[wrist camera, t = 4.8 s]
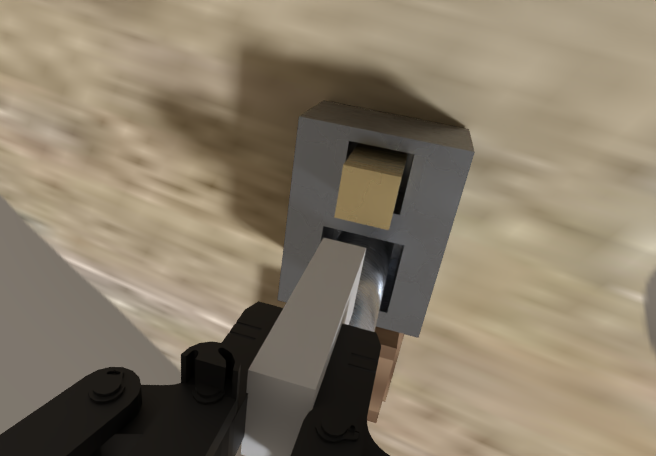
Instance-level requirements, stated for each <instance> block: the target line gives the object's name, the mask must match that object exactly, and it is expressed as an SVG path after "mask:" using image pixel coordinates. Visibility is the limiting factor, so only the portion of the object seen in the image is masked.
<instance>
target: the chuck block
mask: <svg viewBox="0 0 656 456" xmlns="http://www.w3.org/2000/svg"><path fill="white" fill-rule="evenodd" d="M358 143H362V144H367V145H372V146H377V147H382V148H387V149H391V150H396V151H401V152H406V153H408V156H407V160H406V164H405V168H404V173H403V177H402V181H401V186H400V190H399V193H398V197H397V201H396V205H395V209H394V213H393V216H392V220H391V224H390V228H389V230H385V229H381V228H377V227H373V226H368V225H364V224H360V223H356V222H351V221H347V220H343V219H338V218H334V216H335V210H336V204H337V199H338V193H339V187H340V181H341V175H342V169H343V164H344V163H345V162H346V160H347V159H348V157H349V156H350V155H351V153H352V152H353V150H354V149H355V148H356V146H357V145H358ZM473 155H474V148H473V144H472V140H471V136H470V132H469V129H466V128H461V127H456V126H451V125H446V124H441V123H436V122H430V121H425V120H420V119H415V118H410V117H405V116H400V115H395V114H390V113H384V112H379V111H374V110H369V109H364V108H359V107H354V106H349V105H344V104H339V103H333V102H328V101H322V102H321V103H319V104H318V105H316V106H314V107H313V108H311V109H310V110H308V111H307V112H305V113H304V114H302V115H300V116H299V121H298V130H297V138H296V147H295V155H294V164H293V173H292V181H291V190H290V198H289V207H288V215H287V224H286V232H285V241H284V249H283V258H282V267H281V275H280V284H279V292H278V300H279V301H283V302H286V303H287V301H288V299H289V297H290V296H291V294H292V292H293V290H294V289H295V287H296V285H297V283H298V282H299V280H300V278H301V276H302V275H303V273H304V271H305V269H306V268H307V266H308V264H309V262H310V261H311V259H312V257H313V255H314V254H315V252H316V250H317V248H318V247H319V245H320V243H321V241H322V240H323V238H327V239H331V240H335V241H337V239H338V237H339V235H340V233H341V231H346V232H350V233H354V234H359V235H363V236H367V237H371V238H375V239H380V240H384V241H388V242H392V243H394V246H393V251H392V255H391V260H390V264H389V269H388V273H387V278H386V282H385V287H384V291H383V296H382V300H381V305H380V309H379V314H378V318H377V323H376V327H380V328H384V329H388V330H391V331H395V332H399V333H403V334H406V335H410V336H414V337H419V334H420V331H421V327H422V324H423V321H424V317H425V314H426V311H427V307H428V304H429V301H430V298H431V294H432V291H433V288H434V284H435V281H436V278H437V274H438V271H439V268H440V264H441V261H442V258H443V255H444V251H445V248H446V245H447V241H448V238H449V235H450V231H451V228H452V225H453V221H454V218H455V215H456V212H457V208H458V205H459V202H460V198H461V195H462V192H463V188H464V185H465V182H466V178H467V175H468V172H469V169H470V165H471V162H472V159H473Z"/></svg>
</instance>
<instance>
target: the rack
mask: <svg viewBox="0 0 656 456" xmlns="http://www.w3.org/2000/svg"><path fill="white" fill-rule="evenodd" d="M375 332H376V333H377V335H378V338H379V341H380V344H381V351H380V356H379V361H378V366H377V371H376V376H375V380H374V385H373V390H372V395H371V400H370V405H369V410H368V415H367V420H368V421H371V422H374V423H376V422H377V418H378V415H379V411H380V407H381V404H382V401H384V402H385V400H386V397H387V393H388V390H389V386H390V383H391V379H392V376H393V372H394V368H395V365H396V361H397V358H398V354H399V351H400V347H401V344H402V340H403V337H404V334H403V333H399V332H395V331H391V330H388V329H384V328H380V327H375Z"/></svg>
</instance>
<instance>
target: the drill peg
mask: <svg viewBox="0 0 656 456" xmlns="http://www.w3.org/2000/svg"><path fill="white" fill-rule="evenodd" d="M337 241H340V242H344V243H348V244H352V245H356V246H360V247H364V248H366V252H365V256H364V261H363V266H362V271H361V275H360V280H359V285H358V290H357V294H356V299H355V304H354V309H353V313H352V316H351V319H350V322H349V325H351V326H354V327H358V328H362V329H365V330H369V331H373V332H375V327H376V323H377V318H378V314H379V309H380V305H381V300H382V296H383V291H384V287H385V282H386V278H387V273H388V269H389V264H390V260H391V255H392V251H393V246H394V243H392V242H388V241H384V240H380V239H375V238H371V237H367V236H363V235H359V234H354V233H350V232H346V231H341V233H340V235H339V237H338V239H337Z"/></svg>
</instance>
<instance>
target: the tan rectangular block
mask: <svg viewBox="0 0 656 456" xmlns="http://www.w3.org/2000/svg"><path fill="white" fill-rule="evenodd" d="M407 156H408V153H406V152H401V151H396V150H391V149H387V148H382V147H377V146H372V145H367V144H362V143H358V145H357V146H356V148H355V149H354V150H353V152H352V153H351V155H350V156H349V157H348V159H347V160H346V162H345V163H344V164H343V169H342V175H341V181H340V187H339V193H338V199H337V204H336V210H335V216H334V218H338V219H343V220H347V221H351V222H356V223H360V224H364V225H368V226H373V227H377V228H381V229H385V230H389V228H390V224H391V220H392V216H393V213H394V209H395V205H396V201H397V197H398V193H399V190H400V186H401V181H402V177H403V173H404V168H405V164H406V160H407Z"/></svg>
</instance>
